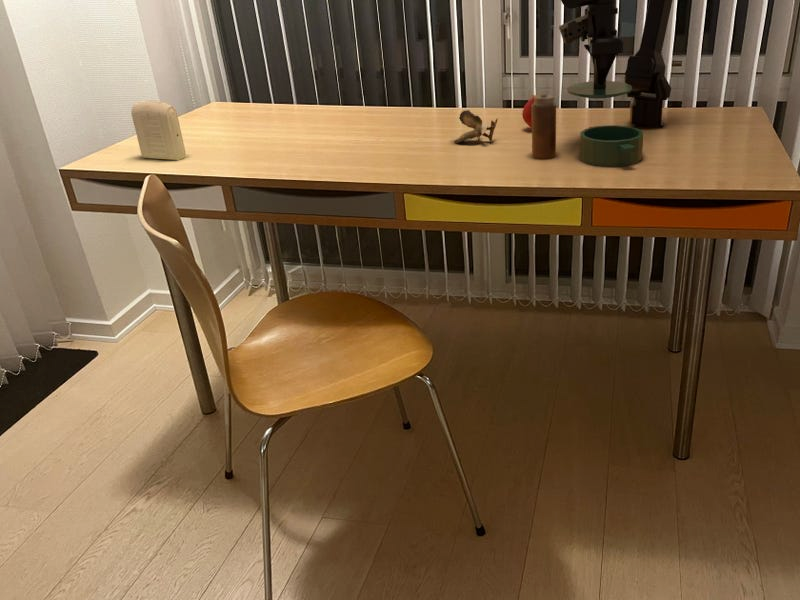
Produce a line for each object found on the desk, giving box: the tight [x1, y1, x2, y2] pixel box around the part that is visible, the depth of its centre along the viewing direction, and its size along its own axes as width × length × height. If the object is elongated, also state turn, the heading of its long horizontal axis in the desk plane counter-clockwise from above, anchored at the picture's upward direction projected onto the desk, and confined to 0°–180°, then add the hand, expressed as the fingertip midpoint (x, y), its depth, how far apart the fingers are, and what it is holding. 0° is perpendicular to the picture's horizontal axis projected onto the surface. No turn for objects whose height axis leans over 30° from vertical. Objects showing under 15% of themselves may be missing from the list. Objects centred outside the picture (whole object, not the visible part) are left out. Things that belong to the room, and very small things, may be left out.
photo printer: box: [130, 100, 187, 161], centre depth 177 cm, size 10×4×12 cm, turn 72°
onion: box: [521, 94, 536, 129], centre depth 185 cm, size 6×6×8 cm
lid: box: [566, 63, 632, 99], centre depth 168 cm, size 14×14×6 cm
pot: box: [579, 124, 644, 167], centre depth 164 cm, size 13×18×5 cm
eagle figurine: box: [453, 109, 499, 144], centre depth 179 cm, size 8×7×9 cm
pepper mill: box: [531, 93, 557, 160], centre depth 166 cm, size 5×5×13 cm
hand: (599, 82), depth 169 cm, fingers closed on lid, 3 cm apart
